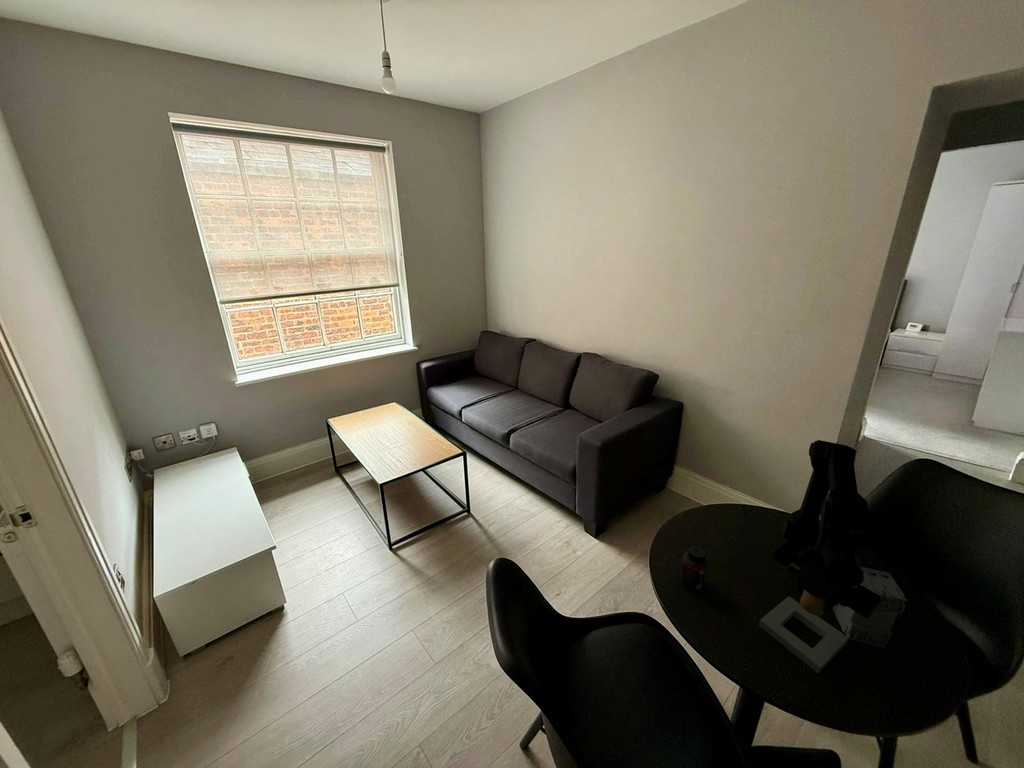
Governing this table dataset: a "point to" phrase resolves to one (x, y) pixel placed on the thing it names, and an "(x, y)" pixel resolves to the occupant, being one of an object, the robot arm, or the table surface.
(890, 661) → the table surface
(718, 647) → the table surface
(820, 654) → the collar
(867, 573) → the circuit breaker
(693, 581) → the supplement bottle
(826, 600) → the tan stepped cylinder
